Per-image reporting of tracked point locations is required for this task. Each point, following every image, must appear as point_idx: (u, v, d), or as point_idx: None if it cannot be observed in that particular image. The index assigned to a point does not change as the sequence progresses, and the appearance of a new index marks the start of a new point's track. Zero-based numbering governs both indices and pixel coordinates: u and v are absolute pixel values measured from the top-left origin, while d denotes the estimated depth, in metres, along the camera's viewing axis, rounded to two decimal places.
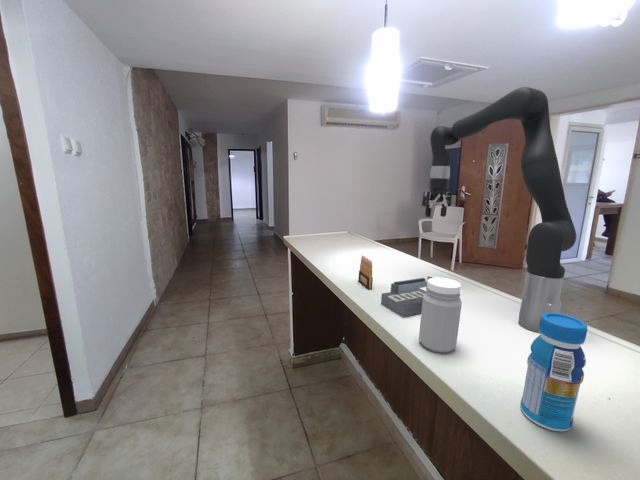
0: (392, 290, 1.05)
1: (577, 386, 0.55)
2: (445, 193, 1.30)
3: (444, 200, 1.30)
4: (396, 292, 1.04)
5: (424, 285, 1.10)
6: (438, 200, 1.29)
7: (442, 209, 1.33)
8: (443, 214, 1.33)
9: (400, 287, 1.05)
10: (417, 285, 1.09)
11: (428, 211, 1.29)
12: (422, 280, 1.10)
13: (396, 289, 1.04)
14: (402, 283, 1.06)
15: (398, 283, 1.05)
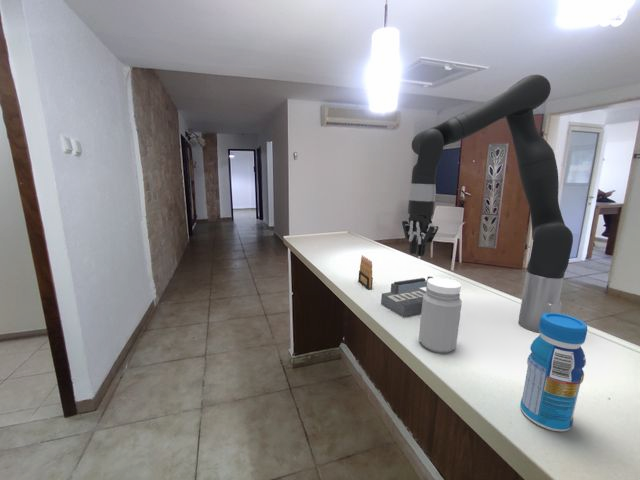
0: (392, 290, 1.05)
1: (577, 386, 0.55)
2: None
3: None
4: (396, 292, 1.04)
5: (424, 285, 1.10)
6: None
7: (413, 244, 0.98)
8: (415, 250, 0.99)
9: (400, 287, 1.05)
10: (417, 285, 1.09)
11: None
12: (422, 280, 1.10)
13: (396, 289, 1.04)
14: (402, 283, 1.06)
15: (398, 283, 1.05)
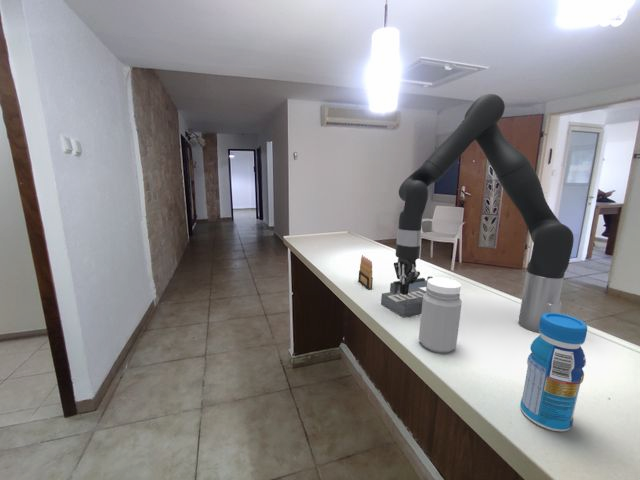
0: (391, 290, 1.06)
1: (577, 386, 0.55)
2: None
3: None
4: (395, 292, 1.05)
5: (424, 285, 1.10)
6: None
7: None
8: None
9: (399, 287, 1.06)
10: (417, 285, 1.09)
11: None
12: (422, 280, 1.10)
13: (395, 289, 1.05)
14: None
15: (397, 283, 1.05)
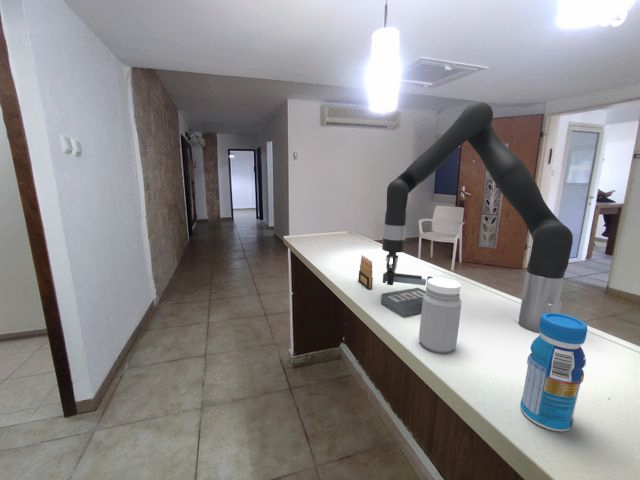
0: None
1: (577, 386, 0.55)
2: None
3: None
4: (384, 281, 1.15)
5: (420, 283, 1.12)
6: None
7: None
8: None
9: None
10: (410, 281, 1.13)
11: (392, 279, 1.11)
12: (418, 277, 1.13)
13: (383, 278, 1.15)
14: None
15: None
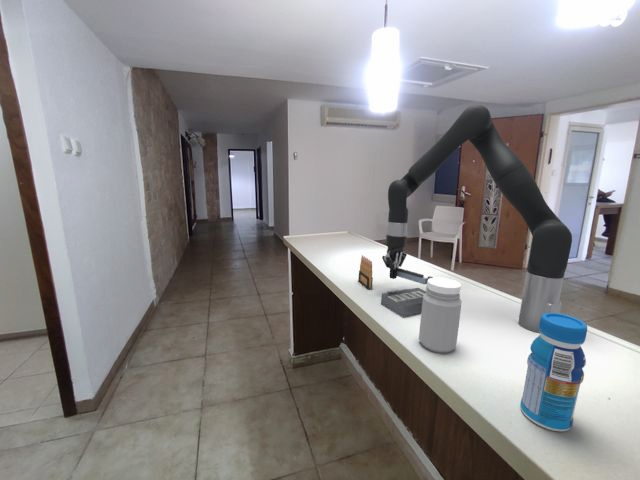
0: None
1: (577, 386, 0.55)
2: (402, 250, 1.20)
3: (399, 259, 1.19)
4: None
5: (420, 281, 1.14)
6: None
7: None
8: None
9: None
10: (412, 278, 1.17)
11: (393, 273, 1.19)
12: (419, 276, 1.15)
13: None
14: (398, 270, 1.21)
15: None
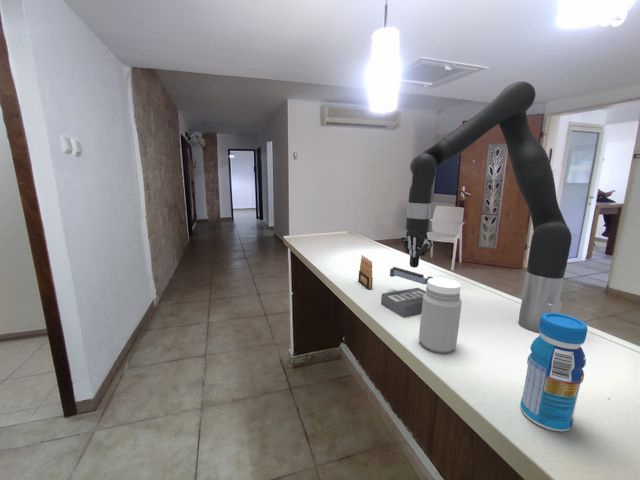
0: None
1: (577, 386, 0.55)
2: None
3: None
4: (390, 275, 1.24)
5: (420, 281, 1.14)
6: None
7: None
8: None
9: (395, 272, 1.22)
10: (412, 278, 1.17)
11: None
12: (419, 276, 1.15)
13: (390, 272, 1.23)
14: (398, 270, 1.21)
15: (395, 268, 1.23)
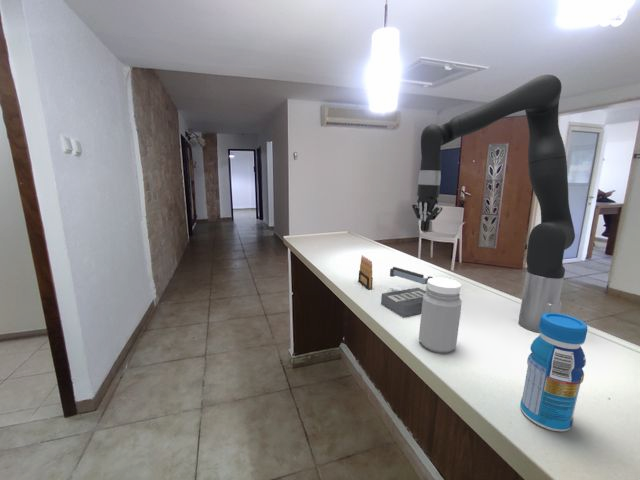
0: None
1: (577, 386, 0.55)
2: None
3: None
4: (390, 275, 1.24)
5: (420, 281, 1.14)
6: None
7: None
8: None
9: (395, 272, 1.22)
10: (412, 278, 1.17)
11: None
12: (419, 276, 1.15)
13: (390, 272, 1.23)
14: (398, 270, 1.21)
15: (395, 268, 1.23)
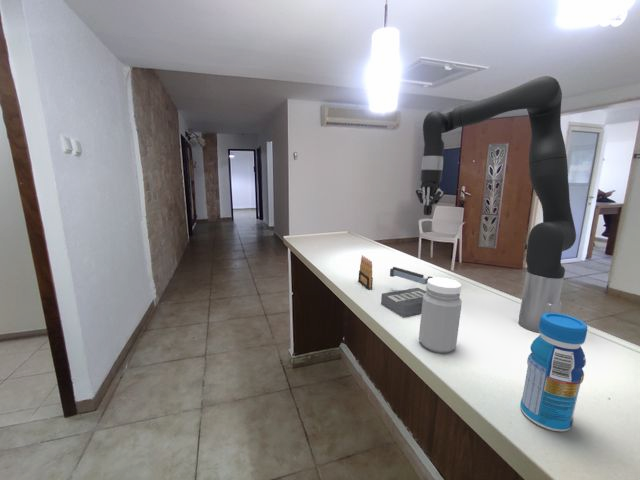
0: None
1: (577, 386, 0.55)
2: None
3: None
4: (390, 275, 1.24)
5: (420, 281, 1.14)
6: None
7: None
8: None
9: (395, 272, 1.22)
10: (412, 278, 1.17)
11: None
12: (419, 276, 1.15)
13: (390, 272, 1.23)
14: (398, 270, 1.21)
15: (395, 268, 1.23)
